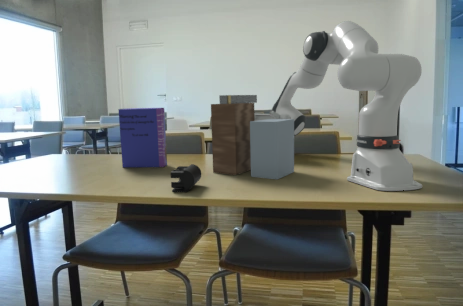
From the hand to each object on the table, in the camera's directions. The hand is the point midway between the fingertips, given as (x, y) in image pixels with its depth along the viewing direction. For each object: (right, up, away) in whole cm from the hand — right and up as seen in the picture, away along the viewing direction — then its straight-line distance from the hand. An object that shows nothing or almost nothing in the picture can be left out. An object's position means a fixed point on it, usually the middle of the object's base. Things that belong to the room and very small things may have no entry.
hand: (261, 112), depth 151 cm
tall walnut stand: (-11, -24, -15) cm, 30 cm away
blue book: (-48, -23, -2) cm, 53 cm away
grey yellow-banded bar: (-9, +2, -15) cm, 18 cm away
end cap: (-26, -28, -41) cm, 56 cm away
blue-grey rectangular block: (+2, -25, -24) cm, 34 cm away
